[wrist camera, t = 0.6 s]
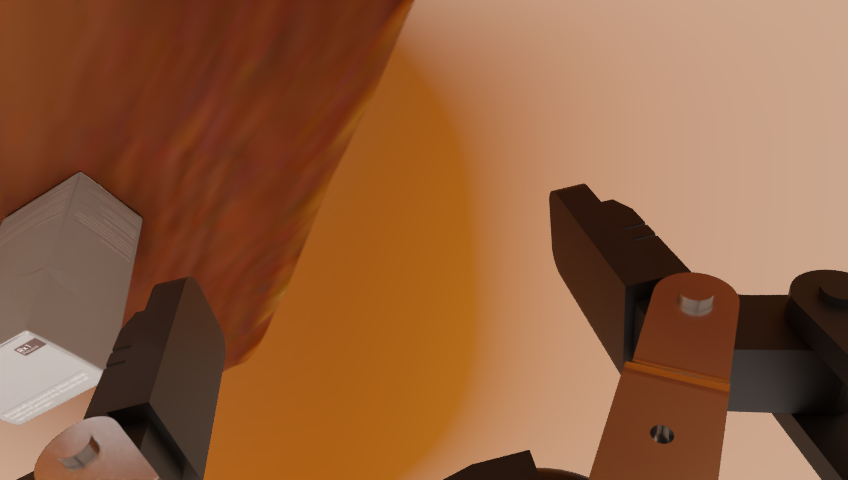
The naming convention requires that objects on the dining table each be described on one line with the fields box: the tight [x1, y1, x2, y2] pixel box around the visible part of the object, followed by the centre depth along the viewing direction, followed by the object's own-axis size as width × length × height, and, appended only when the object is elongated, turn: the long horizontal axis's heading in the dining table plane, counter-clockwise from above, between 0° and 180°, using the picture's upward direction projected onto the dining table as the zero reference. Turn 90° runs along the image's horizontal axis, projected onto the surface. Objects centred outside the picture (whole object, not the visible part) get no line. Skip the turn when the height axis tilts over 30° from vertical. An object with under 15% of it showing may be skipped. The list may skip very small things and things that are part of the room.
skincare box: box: [0, 172, 143, 425], centre depth 41 cm, size 8×7×16 cm
